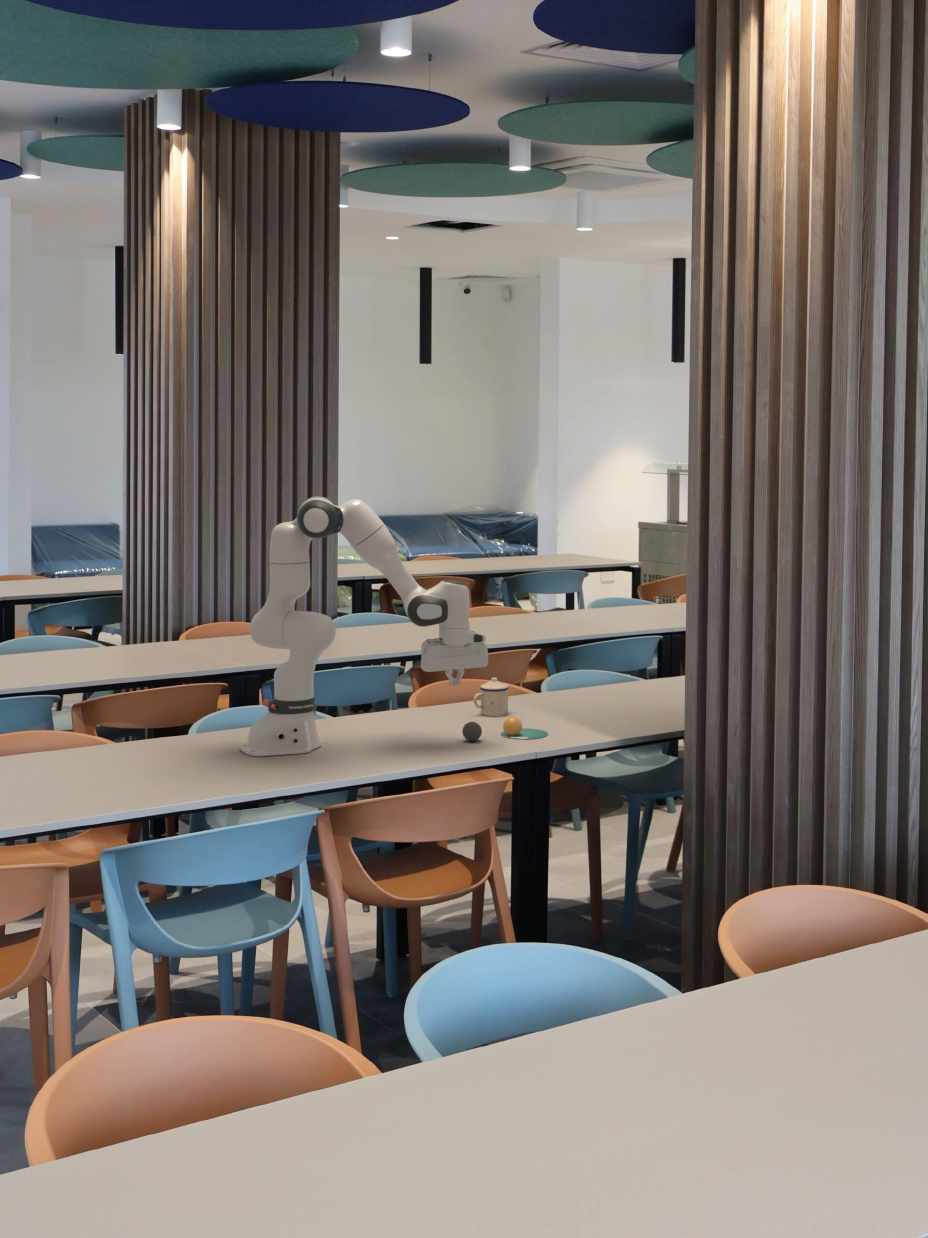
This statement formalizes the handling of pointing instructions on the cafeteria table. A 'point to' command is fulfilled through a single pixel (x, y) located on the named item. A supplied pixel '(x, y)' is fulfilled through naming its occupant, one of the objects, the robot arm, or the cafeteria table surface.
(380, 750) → the cafeteria table surface
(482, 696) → the teacup with lid
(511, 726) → the object ball
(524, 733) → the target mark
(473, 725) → the dark grey ball
